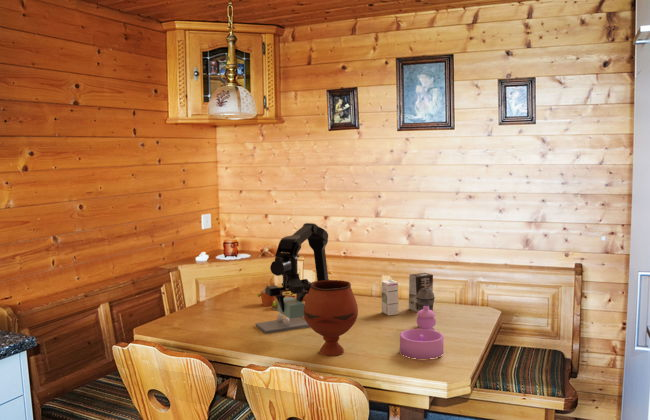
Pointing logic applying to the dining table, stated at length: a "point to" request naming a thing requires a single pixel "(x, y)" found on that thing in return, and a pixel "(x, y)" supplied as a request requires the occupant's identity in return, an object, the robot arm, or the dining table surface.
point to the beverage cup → (425, 298)
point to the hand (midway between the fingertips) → (290, 310)
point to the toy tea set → (272, 300)
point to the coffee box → (418, 287)
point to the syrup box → (390, 297)
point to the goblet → (330, 312)
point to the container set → (422, 338)
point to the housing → (292, 308)
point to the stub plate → (282, 324)
